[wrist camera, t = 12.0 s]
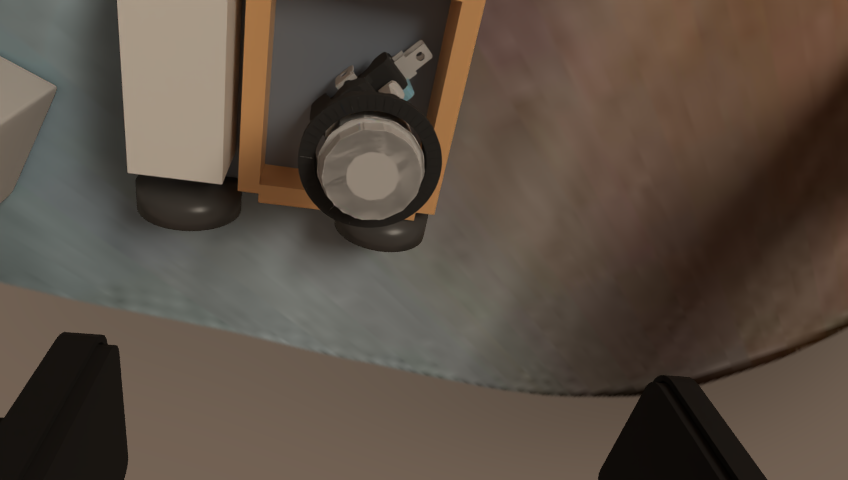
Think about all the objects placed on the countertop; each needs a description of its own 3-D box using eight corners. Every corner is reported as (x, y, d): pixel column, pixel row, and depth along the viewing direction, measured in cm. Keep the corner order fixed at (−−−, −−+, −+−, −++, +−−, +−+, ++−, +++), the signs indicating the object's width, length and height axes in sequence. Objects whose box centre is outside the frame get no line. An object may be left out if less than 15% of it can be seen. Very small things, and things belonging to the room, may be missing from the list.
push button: (392, -3, 26) (418, 44, 18) (455, 86, 29) (504, 164, 20) (286, 85, 28) (263, 167, 19) (355, 162, 30) (361, 264, 22)
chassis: (488, -60, 27) (520, -52, 22) (425, 213, 34) (439, 262, 29) (127, -145, 23) (75, -157, 19) (143, 178, 31) (108, 228, 26)
